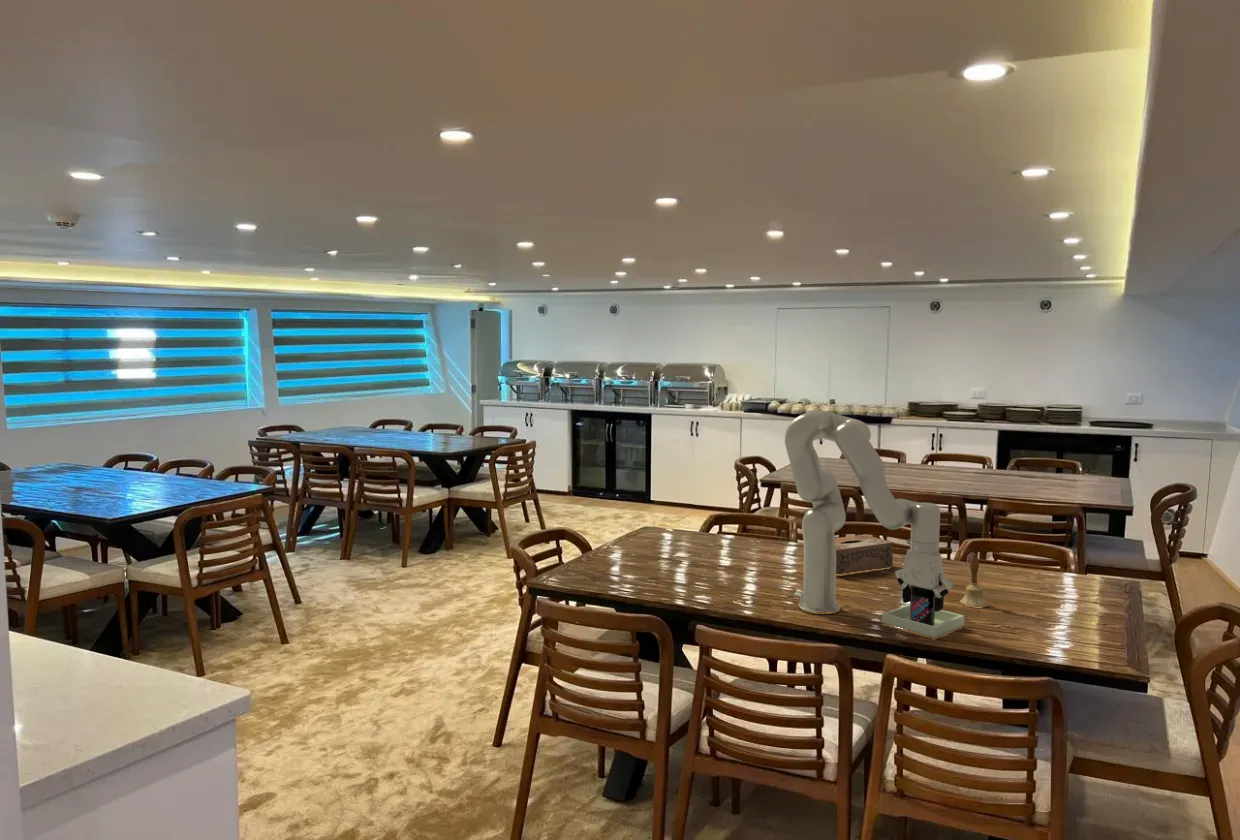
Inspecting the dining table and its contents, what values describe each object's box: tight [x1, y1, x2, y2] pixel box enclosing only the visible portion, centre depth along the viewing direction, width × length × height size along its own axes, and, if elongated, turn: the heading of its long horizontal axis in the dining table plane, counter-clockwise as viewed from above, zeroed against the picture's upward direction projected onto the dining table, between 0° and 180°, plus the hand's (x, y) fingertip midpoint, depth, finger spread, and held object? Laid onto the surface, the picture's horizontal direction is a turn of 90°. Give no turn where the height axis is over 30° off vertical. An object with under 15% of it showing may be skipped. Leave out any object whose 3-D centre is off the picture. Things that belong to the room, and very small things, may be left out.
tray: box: [881, 603, 965, 639], centre depth 231 cm, size 16×16×4 cm
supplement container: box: [909, 586, 936, 626], centre depth 230 cm, size 7×7×10 cm
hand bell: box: [959, 553, 989, 607], centre depth 251 cm, size 8×8×16 cm
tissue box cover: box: [835, 534, 894, 574], centre depth 294 cm, size 26×14×10 cm, turn 115°
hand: (922, 606), depth 230 cm, fingers open, 9 cm apart
